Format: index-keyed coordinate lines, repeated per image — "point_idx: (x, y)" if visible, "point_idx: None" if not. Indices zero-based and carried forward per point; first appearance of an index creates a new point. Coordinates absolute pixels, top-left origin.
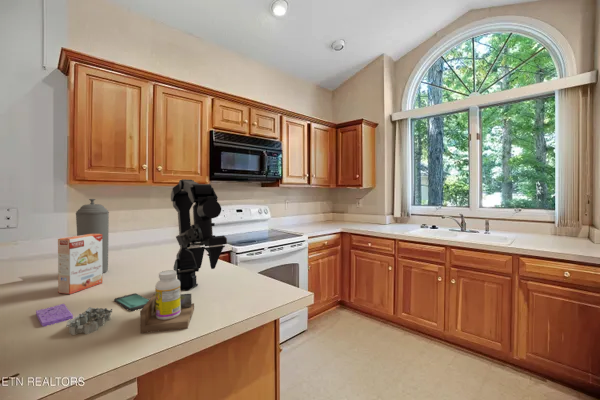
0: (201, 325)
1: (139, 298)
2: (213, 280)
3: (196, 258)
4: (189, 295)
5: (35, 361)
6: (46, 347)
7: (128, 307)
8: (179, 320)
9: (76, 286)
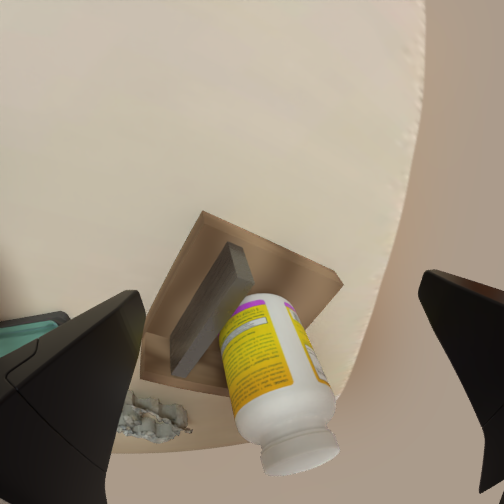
0: (350, 234)
1: (13, 336)
2: None
3: (115, 406)
4: (250, 286)
5: (240, 434)
6: (201, 434)
7: None
8: (318, 301)
9: None
